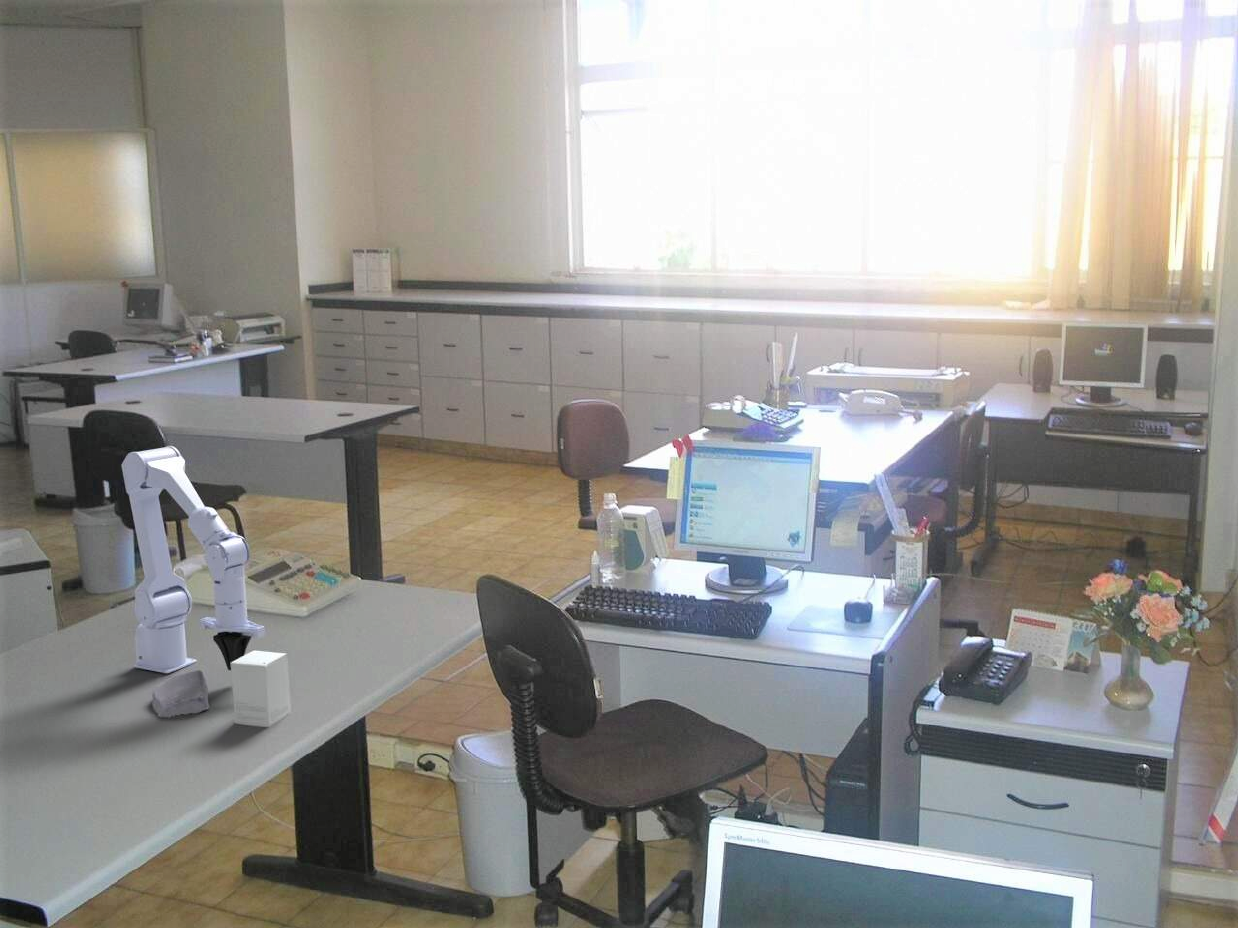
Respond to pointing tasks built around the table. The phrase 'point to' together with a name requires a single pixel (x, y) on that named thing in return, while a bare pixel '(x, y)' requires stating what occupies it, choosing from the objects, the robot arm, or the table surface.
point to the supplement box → (260, 688)
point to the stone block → (181, 695)
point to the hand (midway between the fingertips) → (234, 669)
